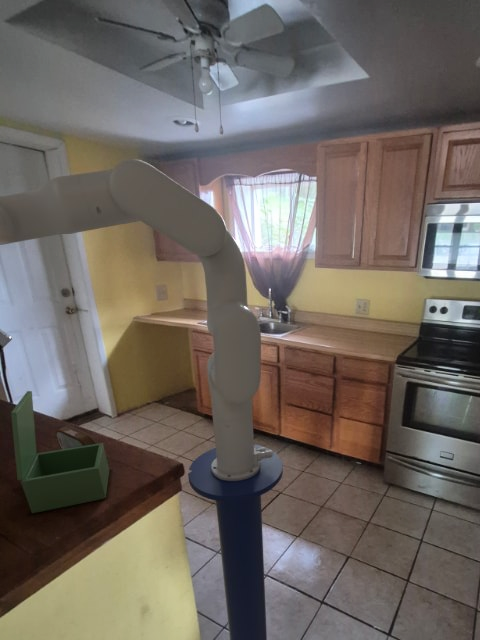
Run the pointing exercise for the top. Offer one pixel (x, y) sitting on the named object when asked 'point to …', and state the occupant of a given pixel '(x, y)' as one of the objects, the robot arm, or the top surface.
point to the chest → (66, 477)
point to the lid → (24, 434)
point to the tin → (73, 438)
